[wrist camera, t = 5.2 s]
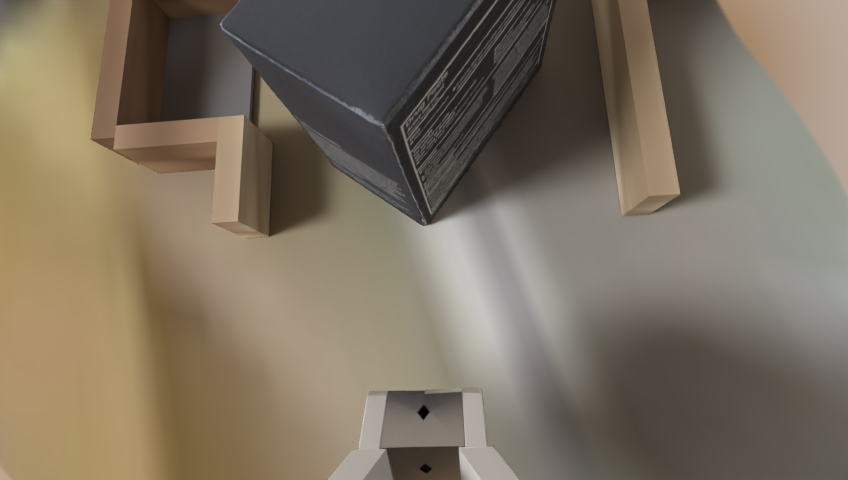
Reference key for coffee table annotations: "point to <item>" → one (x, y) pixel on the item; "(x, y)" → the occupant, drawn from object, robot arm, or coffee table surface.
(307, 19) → the small box
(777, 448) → the coffee table surface
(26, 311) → the coffee table surface
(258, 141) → the trap lane
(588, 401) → the coffee table surface
